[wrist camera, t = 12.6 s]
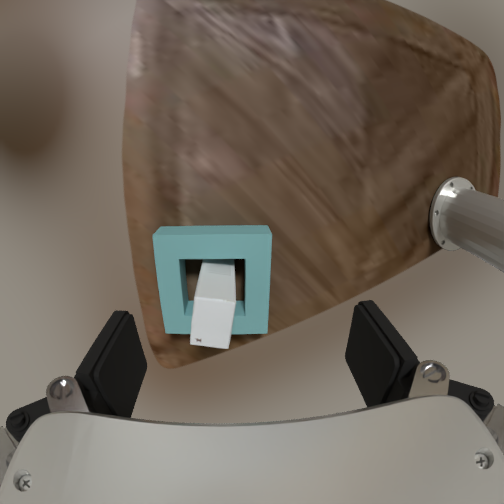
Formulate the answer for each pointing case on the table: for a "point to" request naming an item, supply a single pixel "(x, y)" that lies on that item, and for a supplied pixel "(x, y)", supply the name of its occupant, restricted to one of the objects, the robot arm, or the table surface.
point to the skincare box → (214, 304)
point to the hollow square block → (213, 247)
